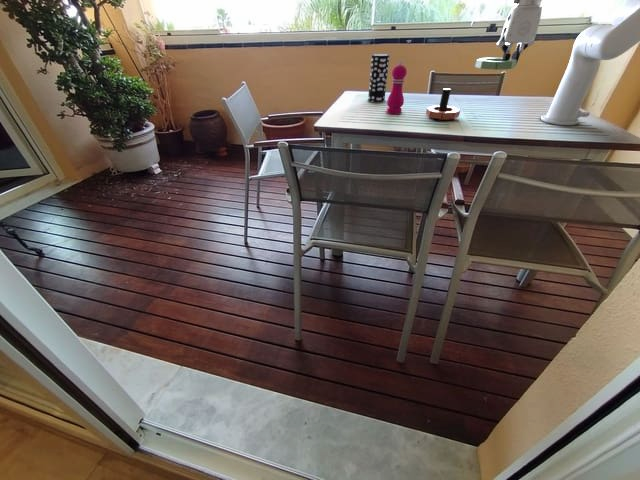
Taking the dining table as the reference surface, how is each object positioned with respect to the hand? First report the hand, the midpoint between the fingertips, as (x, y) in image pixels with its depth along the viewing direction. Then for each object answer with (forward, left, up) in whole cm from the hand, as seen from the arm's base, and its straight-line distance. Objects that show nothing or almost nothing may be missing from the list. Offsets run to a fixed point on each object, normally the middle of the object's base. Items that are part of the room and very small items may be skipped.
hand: (508, 65), depth 109 cm
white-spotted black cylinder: (+40, -39, -20) cm, 60 cm away
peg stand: (+18, -6, -20) cm, 28 cm away
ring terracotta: (+18, -6, -19) cm, 27 cm away
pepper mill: (+36, -15, -20) cm, 44 cm away
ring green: (+5, 0, 0) cm, 5 cm away
